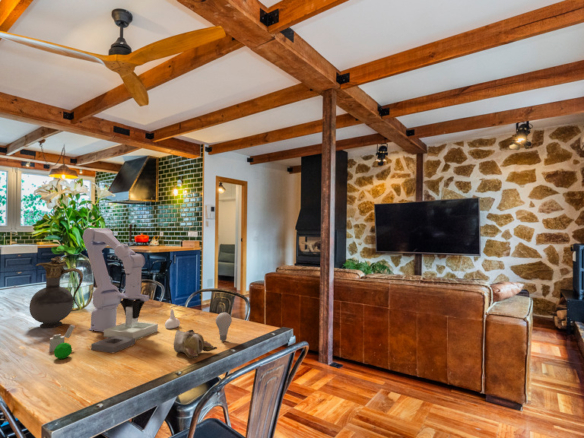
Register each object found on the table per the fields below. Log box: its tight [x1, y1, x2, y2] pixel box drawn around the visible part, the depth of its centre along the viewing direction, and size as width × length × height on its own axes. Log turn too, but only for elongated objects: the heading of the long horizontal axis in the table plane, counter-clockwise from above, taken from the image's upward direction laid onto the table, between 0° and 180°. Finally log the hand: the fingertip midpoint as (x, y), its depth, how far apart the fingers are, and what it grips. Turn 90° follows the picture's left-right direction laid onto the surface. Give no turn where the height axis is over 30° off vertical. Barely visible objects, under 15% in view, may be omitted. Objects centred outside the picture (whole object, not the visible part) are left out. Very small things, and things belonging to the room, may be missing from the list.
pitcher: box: [28, 256, 84, 329], centre depth 148 cm, size 11×19×30 cm, turn 131°
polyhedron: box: [53, 342, 73, 360], centre depth 111 cm, size 5×5×5 cm
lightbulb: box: [215, 311, 233, 342], centre depth 130 cm, size 6×6×11 cm
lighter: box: [48, 324, 76, 353], centre depth 119 cm, size 7×2×8 cm, turn 129°
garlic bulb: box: [164, 308, 181, 330], centre depth 148 cm, size 6×6×8 cm
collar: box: [90, 336, 136, 354], centre depth 122 cm, size 10×10×2 cm
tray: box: [103, 321, 159, 341], centre depth 137 cm, size 14×14×3 cm
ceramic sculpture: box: [173, 329, 218, 359], centre depth 116 cm, size 11×9×15 cm
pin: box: [124, 306, 139, 328], centre depth 137 cm, size 3×3×8 cm
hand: (132, 317), depth 137 cm, fingers closed on pin, 3 cm apart
